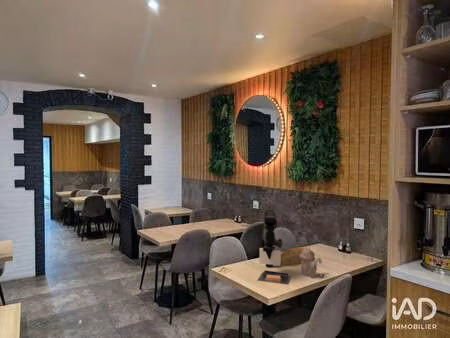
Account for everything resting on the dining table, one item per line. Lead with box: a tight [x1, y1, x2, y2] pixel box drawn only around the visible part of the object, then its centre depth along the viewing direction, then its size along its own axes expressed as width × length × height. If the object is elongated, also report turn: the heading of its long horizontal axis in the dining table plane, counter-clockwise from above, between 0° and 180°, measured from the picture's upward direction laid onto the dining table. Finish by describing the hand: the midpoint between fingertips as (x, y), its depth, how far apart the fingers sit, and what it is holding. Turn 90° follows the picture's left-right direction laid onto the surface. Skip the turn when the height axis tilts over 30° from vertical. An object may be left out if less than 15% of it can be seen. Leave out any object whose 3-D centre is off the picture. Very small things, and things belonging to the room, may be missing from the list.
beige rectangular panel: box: [258, 247, 282, 267], centre depth 211 cm, size 2×14×10 cm, turn 72°
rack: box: [256, 270, 292, 286], centre depth 205 cm, size 16×20×4 cm
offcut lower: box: [264, 276, 282, 285], centre depth 200 cm, size 6×10×1 cm, turn 71°
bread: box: [277, 246, 316, 267], centre depth 243 cm, size 36×11×10 cm, turn 121°
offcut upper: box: [266, 275, 280, 281], centre depth 200 cm, size 5×9×1 cm, turn 79°
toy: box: [299, 246, 323, 279], centre depth 213 cm, size 9×18×20 cm, turn 117°
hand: (269, 258), depth 211 cm, fingers closed on beige rectangular panel, 2 cm apart
